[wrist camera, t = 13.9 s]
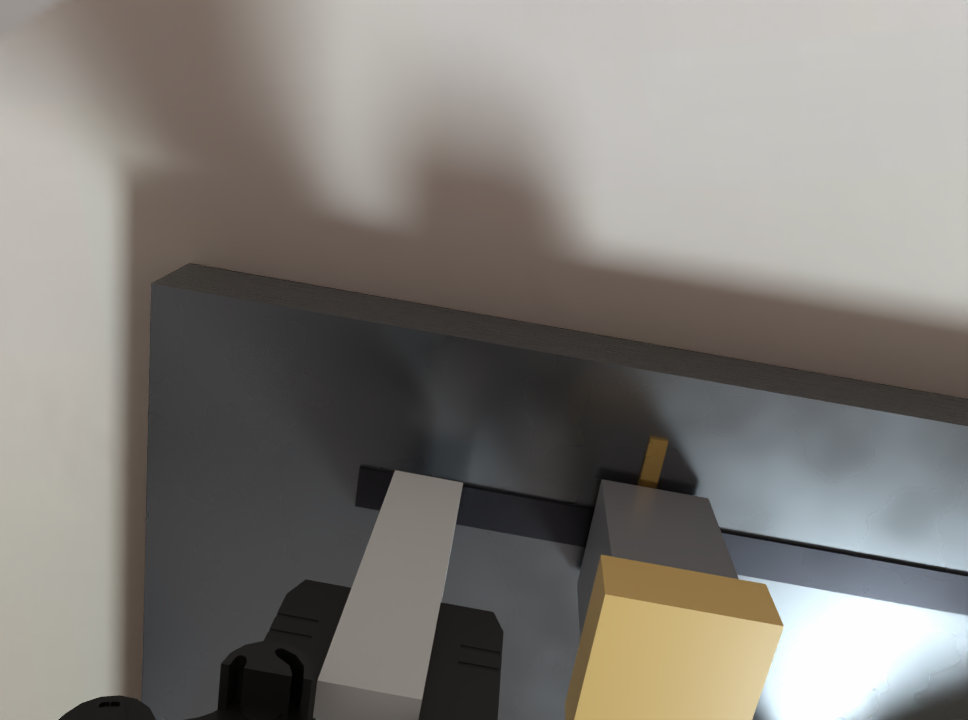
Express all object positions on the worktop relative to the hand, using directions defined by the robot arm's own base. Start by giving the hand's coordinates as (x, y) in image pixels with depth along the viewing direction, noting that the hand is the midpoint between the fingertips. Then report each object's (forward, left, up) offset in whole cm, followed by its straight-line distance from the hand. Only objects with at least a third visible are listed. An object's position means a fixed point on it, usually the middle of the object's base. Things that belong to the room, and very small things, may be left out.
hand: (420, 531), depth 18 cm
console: (+4, -4, -3) cm, 7 cm away
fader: (+5, 0, -1) cm, 5 cm away
